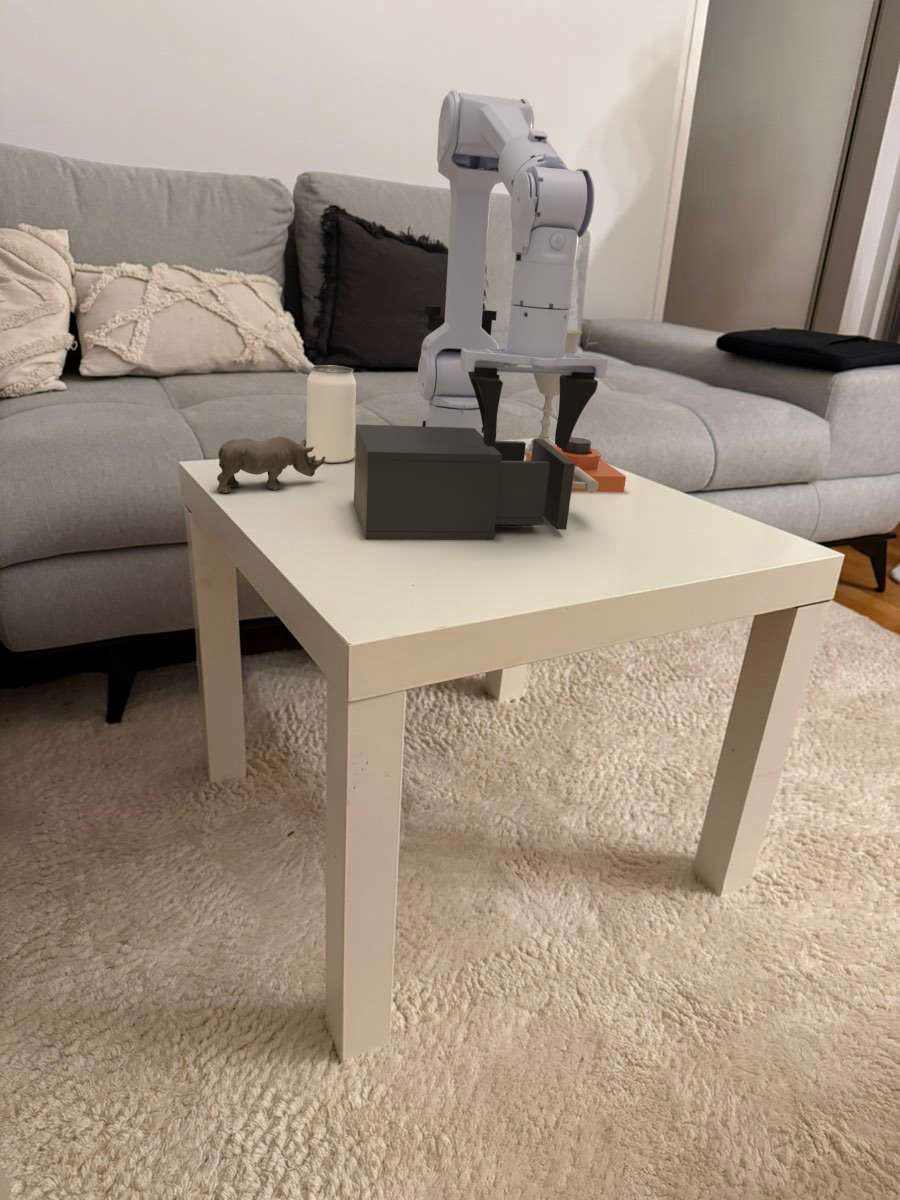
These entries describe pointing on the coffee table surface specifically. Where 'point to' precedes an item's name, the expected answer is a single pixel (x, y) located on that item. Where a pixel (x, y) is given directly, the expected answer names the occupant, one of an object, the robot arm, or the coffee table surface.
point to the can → (331, 413)
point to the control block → (595, 470)
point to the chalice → (552, 387)
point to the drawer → (537, 484)
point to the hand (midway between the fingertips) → (525, 445)
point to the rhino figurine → (263, 460)
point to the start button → (578, 446)
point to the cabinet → (425, 482)
